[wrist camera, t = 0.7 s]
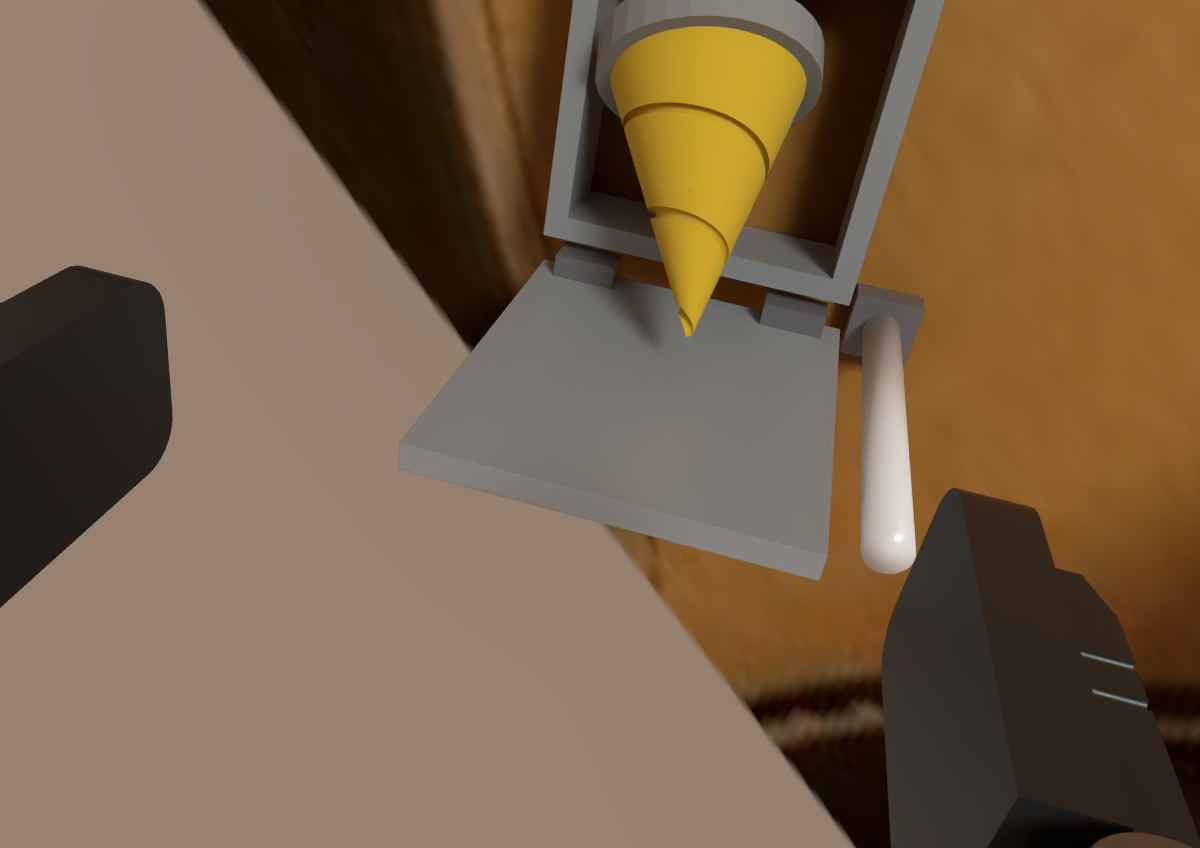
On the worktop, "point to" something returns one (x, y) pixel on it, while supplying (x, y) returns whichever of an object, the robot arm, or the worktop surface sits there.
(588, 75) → the case
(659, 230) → the drill bit
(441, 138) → the worktop surface
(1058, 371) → the worktop surface
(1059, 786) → the robot arm
